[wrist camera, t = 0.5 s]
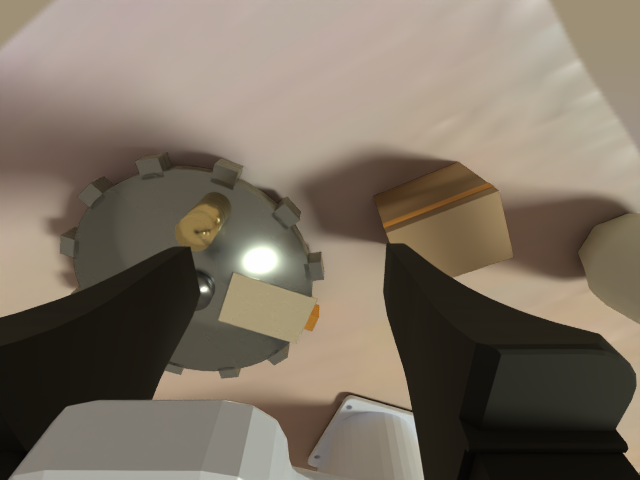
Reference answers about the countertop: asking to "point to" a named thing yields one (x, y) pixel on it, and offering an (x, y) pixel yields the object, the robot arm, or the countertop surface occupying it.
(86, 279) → the sprocket
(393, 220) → the link block
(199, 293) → the robot arm
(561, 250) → the countertop surface
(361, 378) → the countertop surface
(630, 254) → the salt shaker
